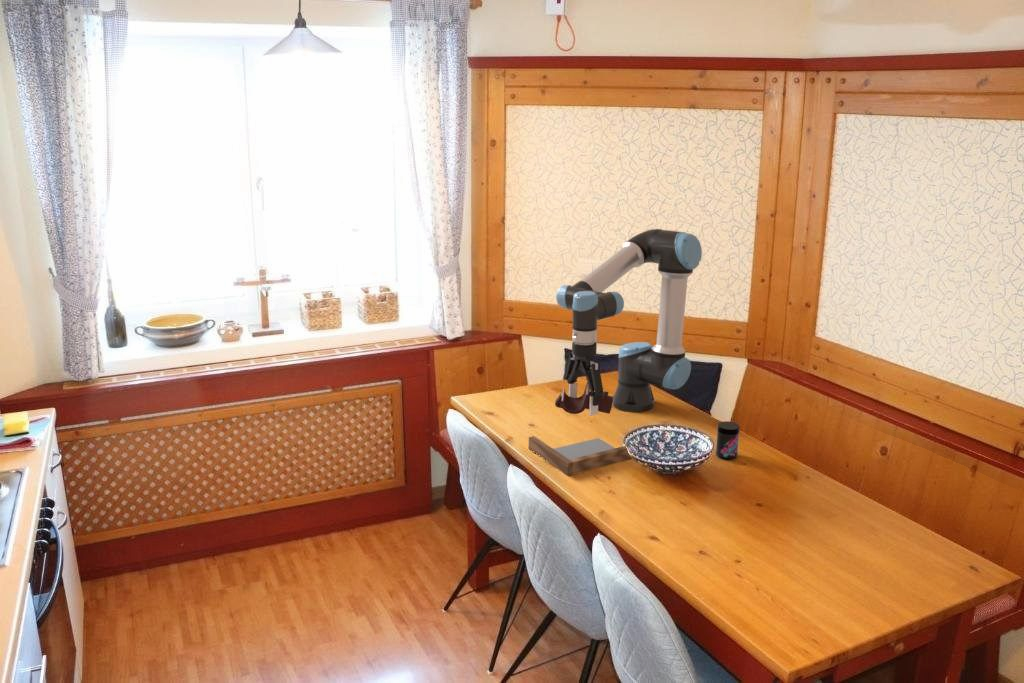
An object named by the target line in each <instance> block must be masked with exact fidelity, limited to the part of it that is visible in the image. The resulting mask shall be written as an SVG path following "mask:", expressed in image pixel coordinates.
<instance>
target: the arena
mask: <svg viewBox="0 0 1024 683" xmlns="http://www.w3.org/2000/svg"><path fill="white" fill-rule="evenodd" d="M626 446H627V445H624V446H620V447H614V448H615V449H611V450H607V451H603V452H599V453H594V454H590V455H586V456H582V457H578V458H574V459H570V460H569V459H568V458H566V457H565V456H563V455H562V454H560V453H559V452H557V451H556V450H554V448H553V447H551V446H550V445H548V444H546V443H545V442H544V441H542V440H541V439H539V437H536V436H535V435H532V436H528V449H529V450H530V449H531V450H532V452H533V451H534V452H535V453H537V454H538V455H540V456H541V457H543V458H544V459H545V460H544V459H543V458H542V459H543V460H544V461H546V460H547V461H548V462H549V464H550V463H551V464H552V466H553V467H554V466H555V467H554V468H555V469H557V470H558V469H559V470H558V471H559V472H561V471H562V472H561V473H562V474H564V475H566V476H567V477H568V476H572V475H575V474H580V473H584V472H587V471H591V470H595V469H598V468H603V467H606V466H610V465H615V464H618V463H622V462H626V461H630V460H633V456H632V457H631V456H630V455H629V453H628V451H627V448H626ZM531 450H530V451H531ZM534 452H533V453H534ZM535 453H534V454H535ZM537 454H536V455H537ZM538 455H537V456H538ZM540 456H539V457H540ZM541 457H540V458H541ZM547 461H546V462H547ZM548 462H547V463H548ZM551 464H550V465H551Z"/></svg>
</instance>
